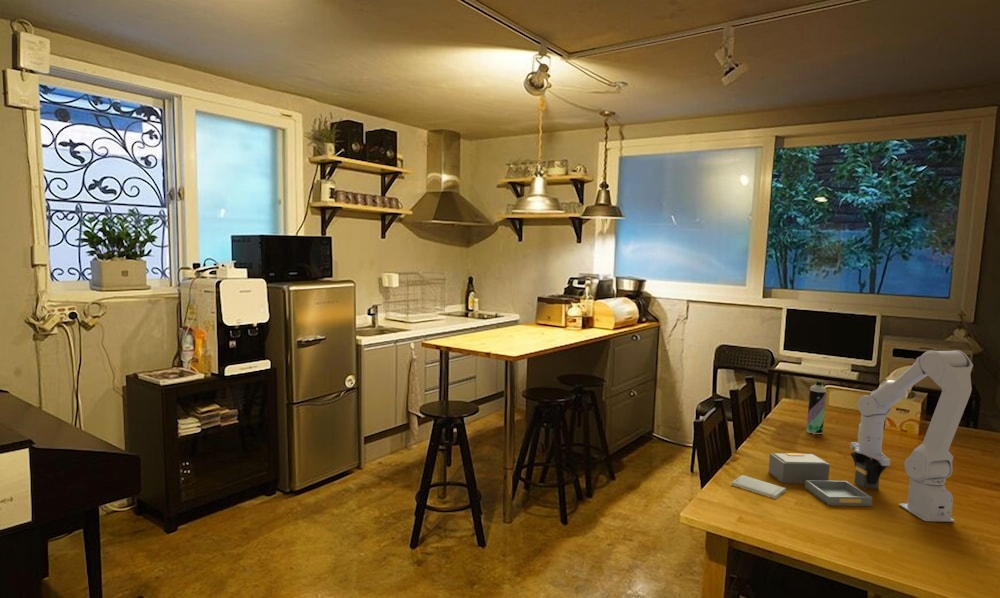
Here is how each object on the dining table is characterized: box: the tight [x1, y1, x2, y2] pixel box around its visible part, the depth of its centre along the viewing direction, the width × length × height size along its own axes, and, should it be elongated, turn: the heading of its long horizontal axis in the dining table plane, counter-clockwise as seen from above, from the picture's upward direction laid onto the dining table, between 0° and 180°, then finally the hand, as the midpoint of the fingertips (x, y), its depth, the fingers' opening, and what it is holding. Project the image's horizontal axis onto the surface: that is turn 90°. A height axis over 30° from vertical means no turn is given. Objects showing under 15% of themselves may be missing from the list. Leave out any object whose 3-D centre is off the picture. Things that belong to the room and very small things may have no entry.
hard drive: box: [730, 474, 787, 500], centre depth 166 cm, size 2×8×12 cm
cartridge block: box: [854, 462, 881, 490], centre depth 170 cm, size 4×5×6 cm
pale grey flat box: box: [768, 452, 831, 484], centre depth 174 cm, size 8×14×6 cm, turn 92°
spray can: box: [806, 380, 827, 435], centre depth 220 cm, size 6×6×20 cm
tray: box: [804, 479, 873, 507], centre depth 162 cm, size 11×12×2 cm
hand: (866, 480), depth 170 cm, fingers closed on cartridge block, 4 cm apart
